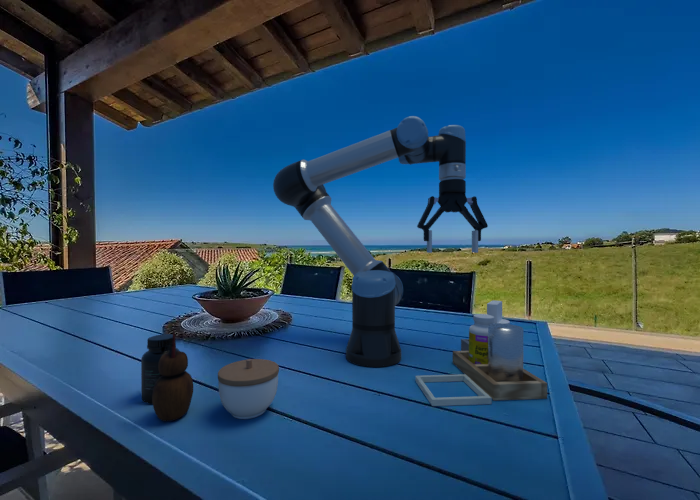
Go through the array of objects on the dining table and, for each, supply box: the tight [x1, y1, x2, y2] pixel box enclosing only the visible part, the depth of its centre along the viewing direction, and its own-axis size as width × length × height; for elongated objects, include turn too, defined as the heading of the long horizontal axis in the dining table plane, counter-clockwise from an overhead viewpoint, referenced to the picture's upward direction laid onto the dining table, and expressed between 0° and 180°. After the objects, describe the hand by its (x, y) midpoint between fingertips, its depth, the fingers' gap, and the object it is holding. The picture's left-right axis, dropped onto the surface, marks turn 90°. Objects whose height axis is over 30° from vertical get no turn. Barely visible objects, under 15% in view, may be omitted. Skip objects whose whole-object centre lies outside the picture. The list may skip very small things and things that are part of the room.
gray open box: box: [460, 338, 469, 351], centre depth 89 cm, size 7×7×4 cm
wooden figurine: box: [151, 329, 194, 422], centre depth 57 cm, size 7×6×15 cm
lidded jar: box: [217, 358, 280, 420], centre depth 59 cm, size 11×11×9 cm
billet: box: [488, 323, 524, 382], centre depth 69 cm, size 7×7×12 cm
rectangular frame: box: [415, 373, 493, 407], centre depth 67 cm, size 12×12×1 cm
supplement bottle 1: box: [140, 333, 180, 405], centre depth 65 cm, size 7×7×12 cm
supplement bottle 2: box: [468, 313, 494, 364], centre depth 79 cm, size 7×7×13 cm
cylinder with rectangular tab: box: [486, 299, 511, 324], centre depth 107 cm, size 9×9×12 cm
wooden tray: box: [452, 350, 548, 401], centre depth 74 cm, size 11×21×3 cm, turn 4°
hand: (452, 252), depth 95 cm, fingers open, 13 cm apart
